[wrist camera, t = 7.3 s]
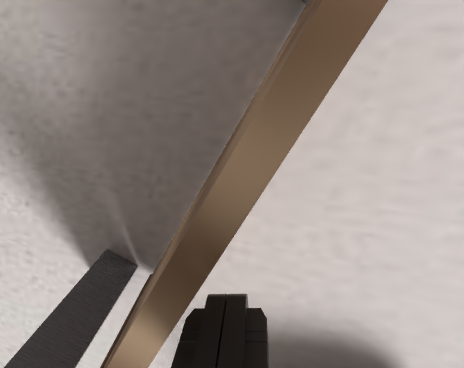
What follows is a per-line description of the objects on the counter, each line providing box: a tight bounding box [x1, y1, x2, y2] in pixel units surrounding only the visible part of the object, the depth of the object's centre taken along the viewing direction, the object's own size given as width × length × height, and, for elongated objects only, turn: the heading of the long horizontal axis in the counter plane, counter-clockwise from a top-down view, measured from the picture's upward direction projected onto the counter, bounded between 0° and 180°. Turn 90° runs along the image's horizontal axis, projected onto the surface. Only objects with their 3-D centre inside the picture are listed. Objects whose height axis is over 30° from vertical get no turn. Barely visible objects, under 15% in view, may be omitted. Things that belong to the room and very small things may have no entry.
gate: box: [100, 0, 388, 368], centre depth 13 cm, size 20×1×10 cm, turn 150°
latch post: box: [4, 250, 138, 368], centre depth 15 cm, size 3×3×13 cm
